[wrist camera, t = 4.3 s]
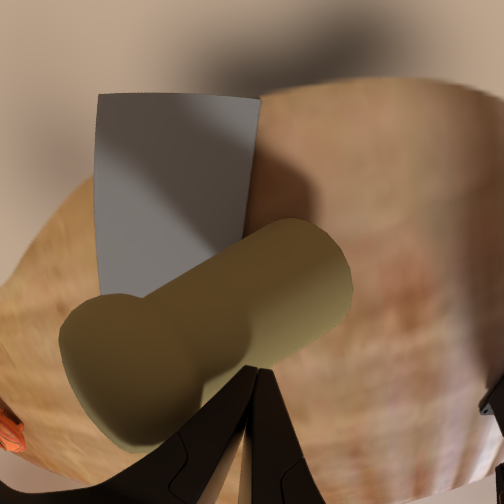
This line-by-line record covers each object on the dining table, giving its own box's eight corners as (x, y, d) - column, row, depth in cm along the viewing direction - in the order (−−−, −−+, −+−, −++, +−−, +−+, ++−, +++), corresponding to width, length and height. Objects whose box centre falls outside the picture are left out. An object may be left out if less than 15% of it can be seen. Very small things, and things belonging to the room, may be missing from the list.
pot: (-2, 412, 37) (-22, 432, 30) (6, 395, 35) (-17, 416, 29) (29, 444, 38) (12, 466, 31) (40, 430, 36) (21, 454, 30)
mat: (261, 100, 14) (260, 99, 14) (227, 363, 20) (225, 367, 20) (102, 94, 15) (98, 94, 14) (108, 330, 21) (106, 333, 21)
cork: (243, 215, 17) (26, 284, 9) (352, 221, 13) (75, 349, 5) (255, 319, 18) (82, 419, 10) (351, 347, 14) (165, 514, 6)
